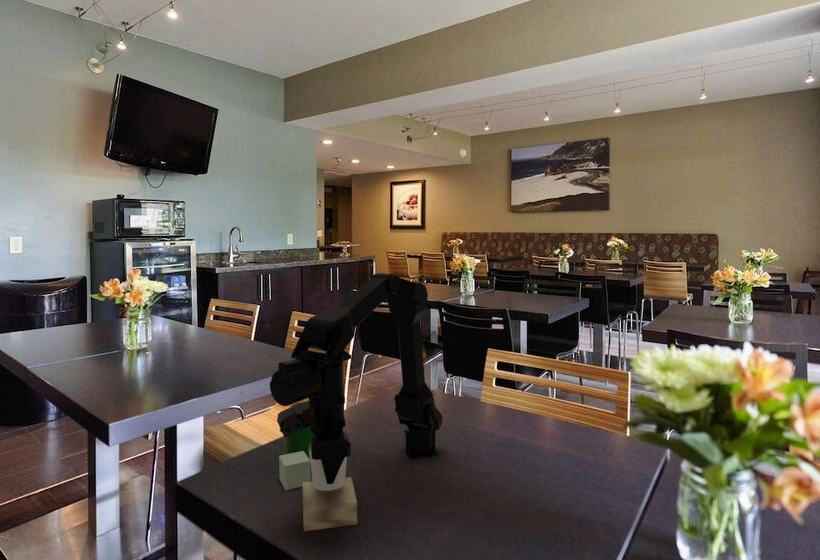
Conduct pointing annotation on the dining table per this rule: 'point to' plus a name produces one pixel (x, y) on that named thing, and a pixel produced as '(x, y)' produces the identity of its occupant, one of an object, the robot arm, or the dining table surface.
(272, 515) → the dining table surface
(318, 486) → the shot glass
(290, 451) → the soda can
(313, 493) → the maple block
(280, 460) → the sage cube
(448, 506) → the dining table surface
